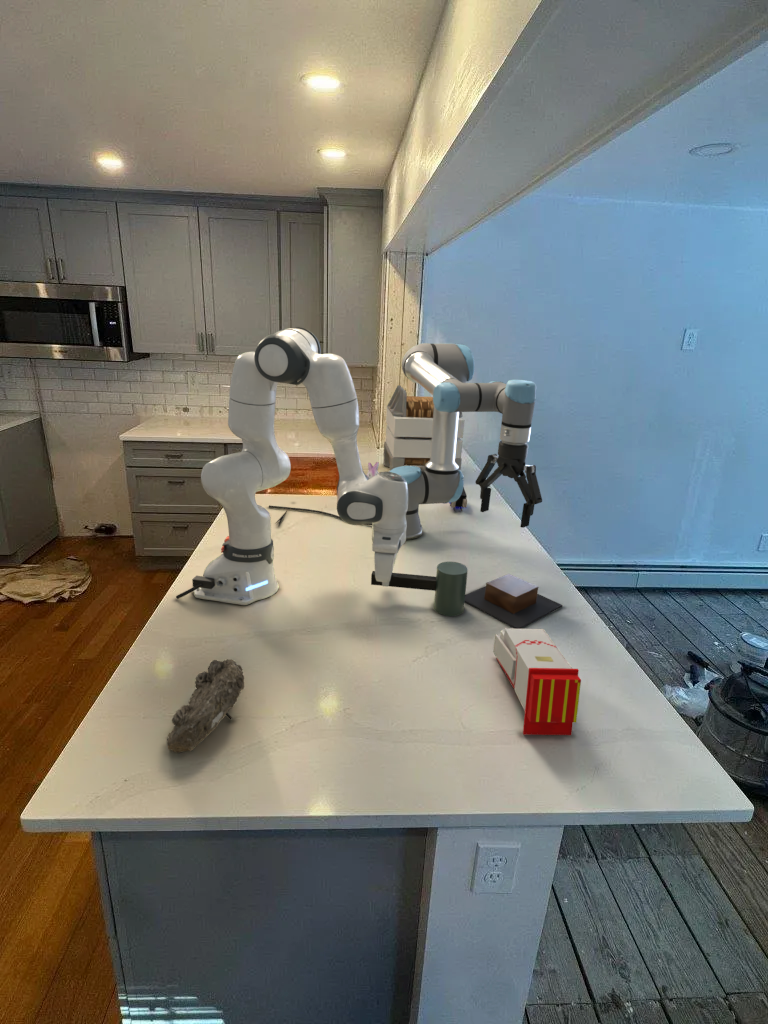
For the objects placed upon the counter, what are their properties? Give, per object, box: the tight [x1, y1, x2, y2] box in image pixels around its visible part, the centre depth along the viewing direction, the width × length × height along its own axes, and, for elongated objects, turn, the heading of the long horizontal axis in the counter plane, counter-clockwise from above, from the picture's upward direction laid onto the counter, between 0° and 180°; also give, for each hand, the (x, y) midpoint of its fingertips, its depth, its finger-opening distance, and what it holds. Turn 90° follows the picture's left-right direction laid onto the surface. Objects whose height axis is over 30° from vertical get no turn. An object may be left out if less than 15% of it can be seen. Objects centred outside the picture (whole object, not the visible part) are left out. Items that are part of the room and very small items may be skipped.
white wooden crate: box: [383, 384, 465, 472], centre depth 268 cm, size 34×33×41 cm
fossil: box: [166, 658, 245, 754], centre depth 106 cm, size 22×10×15 cm
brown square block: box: [484, 573, 539, 614], centre depth 155 cm, size 10×10×5 cm
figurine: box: [366, 461, 380, 479], centre depth 234 cm, size 9×10×15 cm
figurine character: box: [449, 486, 468, 512], centre depth 228 cm, size 7×8×15 cm
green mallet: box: [370, 561, 469, 617], centre depth 150 cm, size 25×8×12 cm, turn 83°
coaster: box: [464, 585, 563, 629], centre depth 156 cm, size 20×20×1 cm
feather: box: [274, 510, 288, 528], centre depth 213 cm, size 2×28×2 cm
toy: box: [492, 627, 582, 736], centre depth 118 cm, size 12×13×30 cm
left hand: (386, 582), depth 151 cm, fingers closed on green mallet, 2 cm apart
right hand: (503, 518), depth 154 cm, fingers open, 13 cm apart
